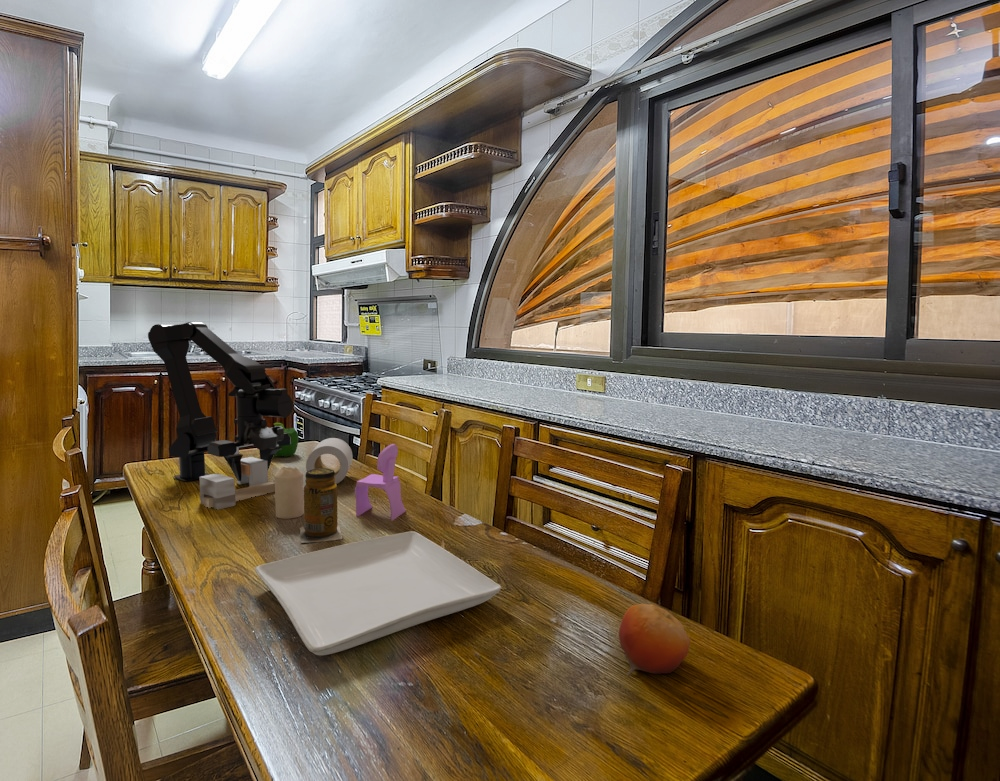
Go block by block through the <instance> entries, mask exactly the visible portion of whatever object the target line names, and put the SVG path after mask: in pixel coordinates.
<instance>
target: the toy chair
mask: <svg viewBox="0 0 1000 781" xmlns="http://www.w3.org/2000/svg"><path fill="white" fill-rule="evenodd" d="M398 450H399V449H398V446H397V444H395V443H391V444H389V445H387V446H386V447H385V448H383V449H382V450H381V451H380V453H379V454H378V457H377V459H376V460H377V461H376V464H377V465H376V467H377V468H376V469H377V471H380V472H381V473H382V474H381V475H380V474H375V473H371V474H369V475H367V476H366V477H364V478H362V479H359V480H357V481H356V486H355V487H354V495H355V516H356V517H359V516H361V515H362V514H364V513H365V512H367V511H368V510H371V509H372V508H373V505H372V503H371V501H370V498H369V494H368V493H369V487H370V488H375V489H380V490H381V489H382V490H384V492H385V493H386V496H387V498H388V501H389V502H388V503H389V506H390V521H394V520H395V519H397V518H399V516H401V515H402V514H404V513H405V512H406V508H405V506H404V504H403V500H402V495H401V493H402V491H401V487H402V486H401V482H400V478H399V475H398V476H396V475H394V474H395V469H396V468H395V467H396V458H398V453H399V452H398Z"/></svg>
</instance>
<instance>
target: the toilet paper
mask: <svg viewBox="0 0 1000 781" xmlns="http://www.w3.org/2000/svg"><path fill="white" fill-rule="evenodd" d="M327 454H328V455H331V456H334V457H336V458H337V459H338V461H339V465H340V466H338V467H328V466H326V465H325V464H324V462H323V461H322V457H321V456H323V455H327ZM352 462H353V451H352V448H351V447H350V446H349V444H348V443H347V442H346V441H345V440H343V439H341V438H336V437H329V438H326V439H323V440H321V441H320V442H318V444H317V445H316V446H315V447H314V448H313V450H312V451H311V453H309V455H308V457H307V459H306V463H305V469H306V470H305V471H306V472H307V471H309V470H312V469H317V468H328V469H332V470H334V473H335V476H334V477H335V481H334V482H335V483H336V485H337V484H340V482H343V480H344V479H345V478H346V476H347V475H348V472H349V469H350V467H351V464H353V463H352Z"/></svg>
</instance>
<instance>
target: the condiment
mask: <svg viewBox="0 0 1000 781" xmlns="http://www.w3.org/2000/svg"><path fill="white" fill-rule="evenodd" d="M328 468H329V467H328ZM328 468H317V469H312V470H309V471H307V470H306V473H305V485H303V491H304V514H303V516H304V517H303V520H304V521H303V524H304V525H303V526H301V527H299V533H300V534H299V536H300V538H299V539H300V543H302V544H304V543H306V544H307V543H321V542H328V541H336V540H337V541H338V540H343V536H342V532H341V528H340V523H338V519H339V518H338V485H337V484H336V483H335V482H334V481H335V477H334V476H335V473H334V470H332V469H328Z"/></svg>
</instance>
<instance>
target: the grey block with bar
mask: <svg viewBox="0 0 1000 781" xmlns="http://www.w3.org/2000/svg"><path fill="white" fill-rule="evenodd" d="M210 474H211V475H206V476H201V477H199V479H198V480H199V494H200V496H199V497H200V501H199V502H200V504H201V505H203V504H204V505H203V506H205V508H207V507H208V508H207V509H211V507H212V508H213V510H216V509H217V511H220V510H223V509H226V508H230V507H234V506H236V502H239V500H240V501H244V500H247V499H252V498H255V496H256V497H259V496H263V495H267V493H268V494H272V493H275V480H273V481H268V482H267V483H263V484H259V485H255V486H250V487H249V486H248V487H243V488H238V489H236V483H235V482H236V479H235V478H236V477H232V476H228V475H226V474H222V473H218V472H217V473H210ZM251 497H252V498H251Z"/></svg>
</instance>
